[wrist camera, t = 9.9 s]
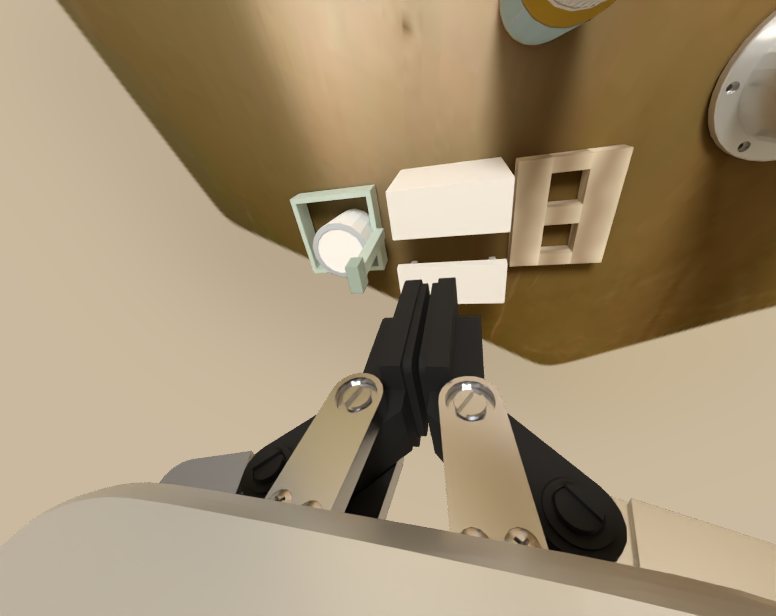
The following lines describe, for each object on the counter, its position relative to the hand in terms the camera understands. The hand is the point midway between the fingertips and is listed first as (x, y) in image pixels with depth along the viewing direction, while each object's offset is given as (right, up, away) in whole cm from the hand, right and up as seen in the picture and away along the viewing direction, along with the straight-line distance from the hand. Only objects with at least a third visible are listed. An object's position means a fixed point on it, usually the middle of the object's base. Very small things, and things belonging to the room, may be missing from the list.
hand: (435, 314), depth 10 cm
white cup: (-6, +11, +30) cm, 32 cm away
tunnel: (+6, +11, +26) cm, 29 cm away
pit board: (+18, +12, +24) cm, 32 cm away
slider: (-7, +11, +30) cm, 33 cm away
